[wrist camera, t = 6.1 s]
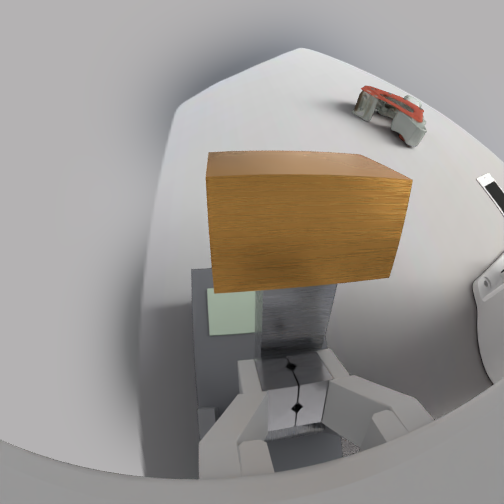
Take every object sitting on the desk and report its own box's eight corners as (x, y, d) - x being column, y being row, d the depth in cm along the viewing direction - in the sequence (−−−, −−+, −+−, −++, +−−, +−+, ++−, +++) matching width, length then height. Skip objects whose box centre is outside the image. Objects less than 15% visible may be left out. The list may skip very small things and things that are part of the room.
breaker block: (322, 510, 14) (367, 553, 7) (223, 524, 14) (220, 580, 6) (293, 294, 24) (322, 238, 16) (200, 300, 23) (185, 245, 16)
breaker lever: (321, 441, 12) (421, 180, 5) (229, 455, 12) (188, 178, 5) (310, 404, 15) (369, 155, 8) (225, 415, 14) (197, 153, 7)
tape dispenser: (410, 111, 49) (334, 92, 45) (419, 93, 45) (342, 69, 41) (455, 163, 40) (375, 145, 36) (468, 142, 35) (388, 116, 32)
